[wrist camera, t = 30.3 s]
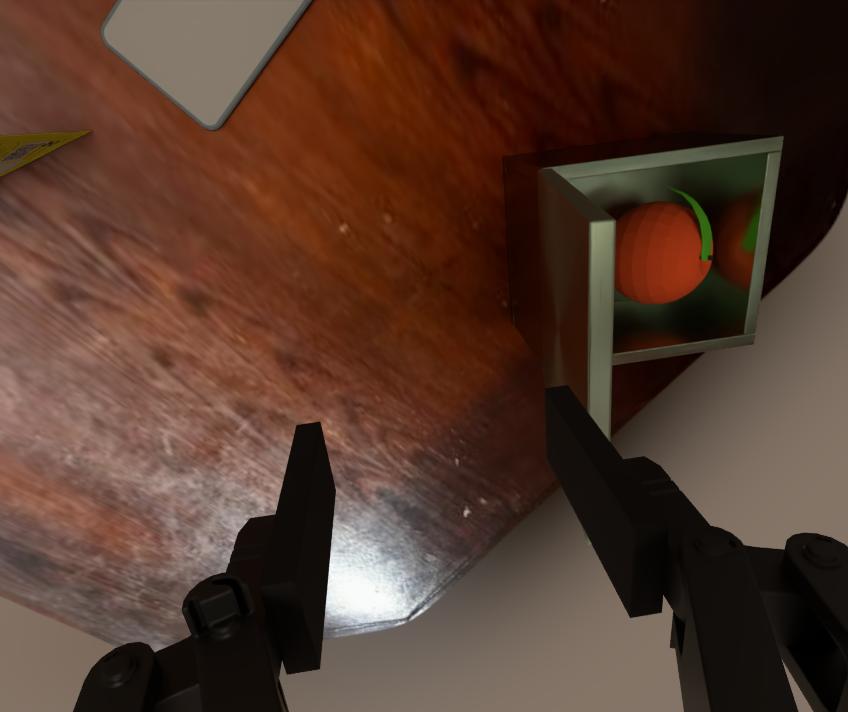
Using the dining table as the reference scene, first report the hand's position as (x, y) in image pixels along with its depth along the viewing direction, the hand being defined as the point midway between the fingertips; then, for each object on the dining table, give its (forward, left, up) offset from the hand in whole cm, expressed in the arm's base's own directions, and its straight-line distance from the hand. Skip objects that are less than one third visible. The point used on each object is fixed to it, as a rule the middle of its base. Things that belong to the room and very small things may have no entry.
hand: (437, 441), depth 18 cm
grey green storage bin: (-15, 0, -25) cm, 29 cm away
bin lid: (-7, 0, -8) cm, 11 cm away
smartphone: (+8, -18, -25) cm, 32 cm away
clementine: (-15, 0, -23) cm, 27 cm away
